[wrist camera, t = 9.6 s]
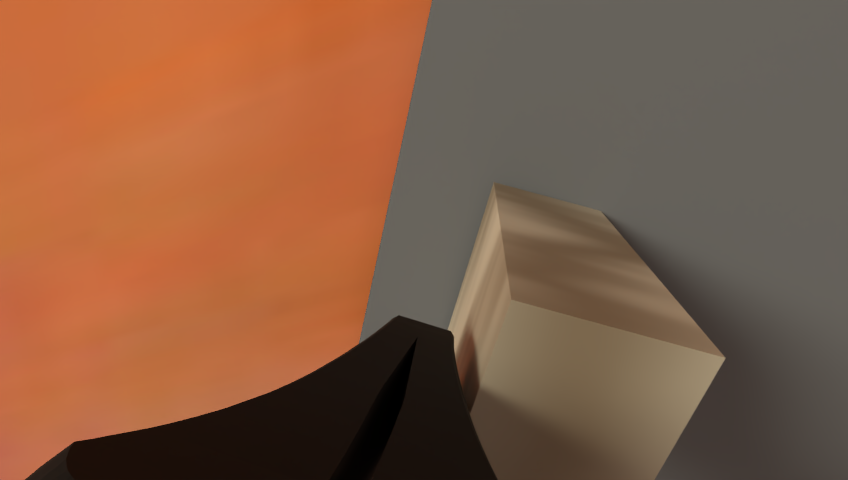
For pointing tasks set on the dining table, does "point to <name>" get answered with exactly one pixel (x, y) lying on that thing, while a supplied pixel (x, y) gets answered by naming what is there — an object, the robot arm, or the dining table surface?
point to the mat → (655, 189)
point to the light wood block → (572, 346)
